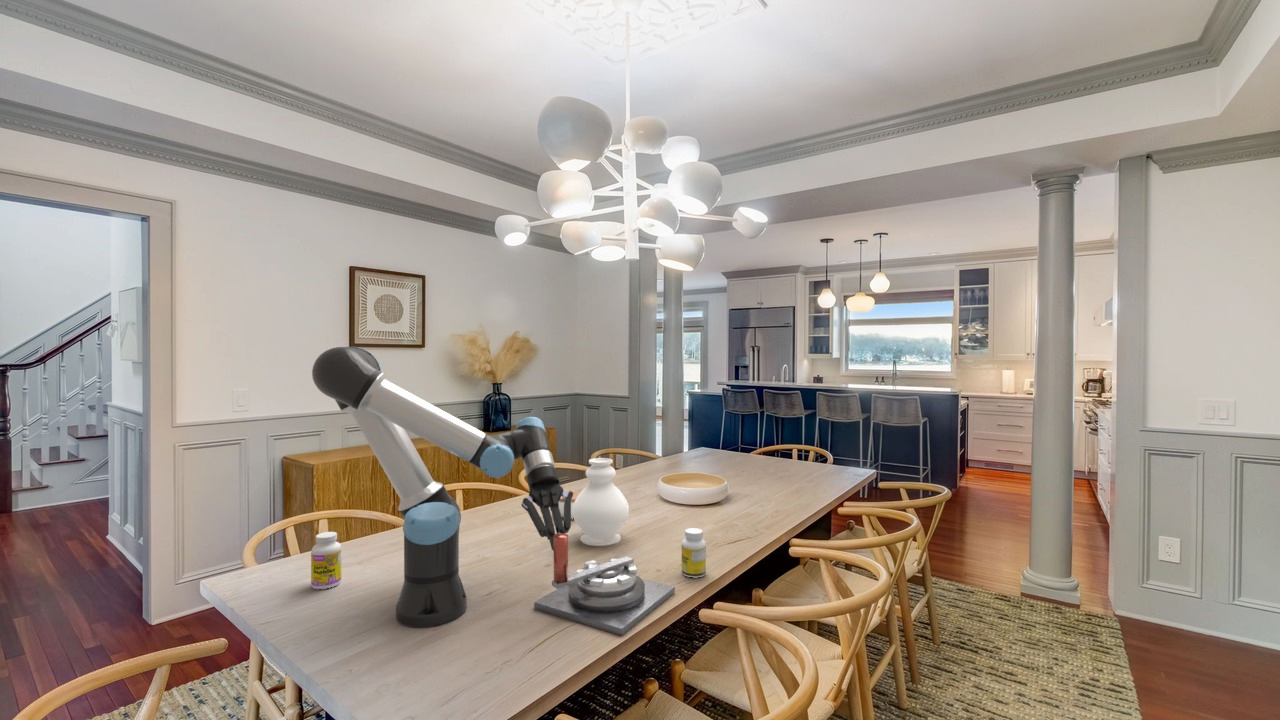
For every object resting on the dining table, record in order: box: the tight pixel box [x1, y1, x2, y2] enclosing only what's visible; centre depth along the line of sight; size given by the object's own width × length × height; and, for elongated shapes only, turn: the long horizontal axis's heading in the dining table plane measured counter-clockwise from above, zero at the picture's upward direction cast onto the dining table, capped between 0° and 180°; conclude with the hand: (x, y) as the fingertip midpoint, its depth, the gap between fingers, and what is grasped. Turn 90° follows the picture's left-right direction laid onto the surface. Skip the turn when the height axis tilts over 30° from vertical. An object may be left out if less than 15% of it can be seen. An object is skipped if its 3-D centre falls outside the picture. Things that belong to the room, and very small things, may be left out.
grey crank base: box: [533, 575, 676, 637], centre depth 132 cm, size 24×24×4 cm
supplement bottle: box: [310, 531, 342, 590], centre depth 141 cm, size 7×7×13 cm
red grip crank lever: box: [551, 533, 638, 597], centre depth 130 cm, size 22×14×14 cm, turn 132°
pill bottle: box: [681, 527, 707, 579], centre depth 148 cm, size 6×6×12 cm
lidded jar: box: [558, 490, 581, 520], centre depth 200 cm, size 11×11×9 cm
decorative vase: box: [572, 457, 630, 547], centre depth 176 cm, size 18×18×25 cm
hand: (563, 562), depth 126 cm, fingers closed
